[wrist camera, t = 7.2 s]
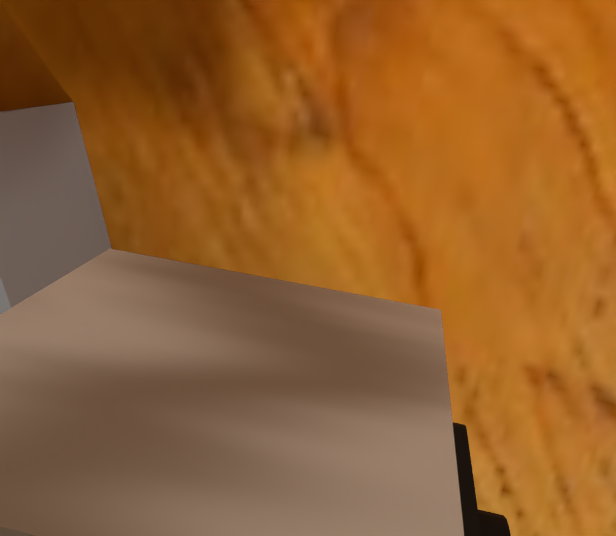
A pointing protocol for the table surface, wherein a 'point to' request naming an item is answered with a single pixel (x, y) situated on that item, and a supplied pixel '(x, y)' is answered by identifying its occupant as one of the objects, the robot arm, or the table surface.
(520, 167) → the table surface
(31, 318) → the cream block
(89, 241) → the slate block
